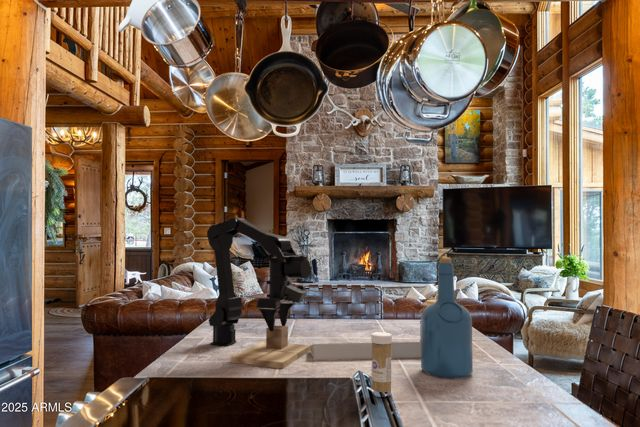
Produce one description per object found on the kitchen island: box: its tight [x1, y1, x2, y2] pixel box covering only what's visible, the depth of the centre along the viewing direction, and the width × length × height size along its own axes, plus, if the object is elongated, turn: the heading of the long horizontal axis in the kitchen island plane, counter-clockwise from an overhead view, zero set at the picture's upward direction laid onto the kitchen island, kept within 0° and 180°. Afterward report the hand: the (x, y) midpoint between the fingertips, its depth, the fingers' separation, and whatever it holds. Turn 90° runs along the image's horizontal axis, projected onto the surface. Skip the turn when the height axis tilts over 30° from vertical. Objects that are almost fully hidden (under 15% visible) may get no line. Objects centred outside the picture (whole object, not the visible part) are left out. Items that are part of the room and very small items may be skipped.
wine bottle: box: [420, 257, 474, 380], centre depth 120 cm, size 14×13×30 cm
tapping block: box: [265, 324, 289, 349], centre depth 140 cm, size 5×5×6 cm
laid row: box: [255, 342, 312, 369], centre depth 134 cm, size 8×22×2 cm, turn 162°
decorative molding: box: [310, 341, 421, 361], centre depth 138 cm, size 34×5×10 cm
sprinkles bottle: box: [370, 331, 393, 395], centre depth 102 cm, size 5×5×13 cm
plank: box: [230, 341, 275, 366], centre depth 136 cm, size 8×20×2 cm, turn 162°
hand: (277, 328), depth 140 cm, fingers open, 9 cm apart
